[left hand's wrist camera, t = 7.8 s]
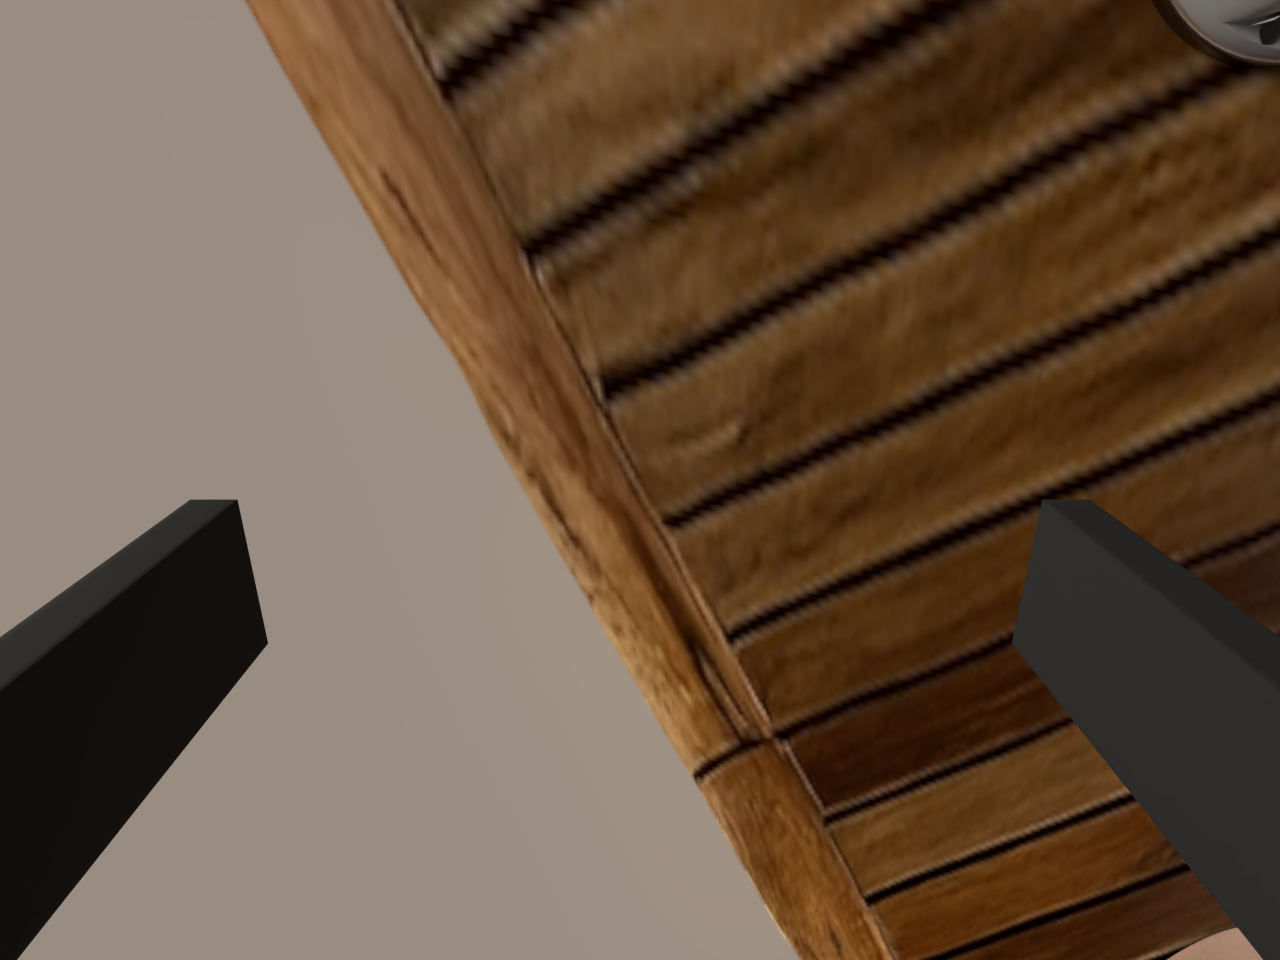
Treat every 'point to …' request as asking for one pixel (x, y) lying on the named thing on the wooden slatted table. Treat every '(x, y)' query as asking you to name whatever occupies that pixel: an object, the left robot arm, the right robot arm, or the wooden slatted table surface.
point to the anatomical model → (1220, 948)
